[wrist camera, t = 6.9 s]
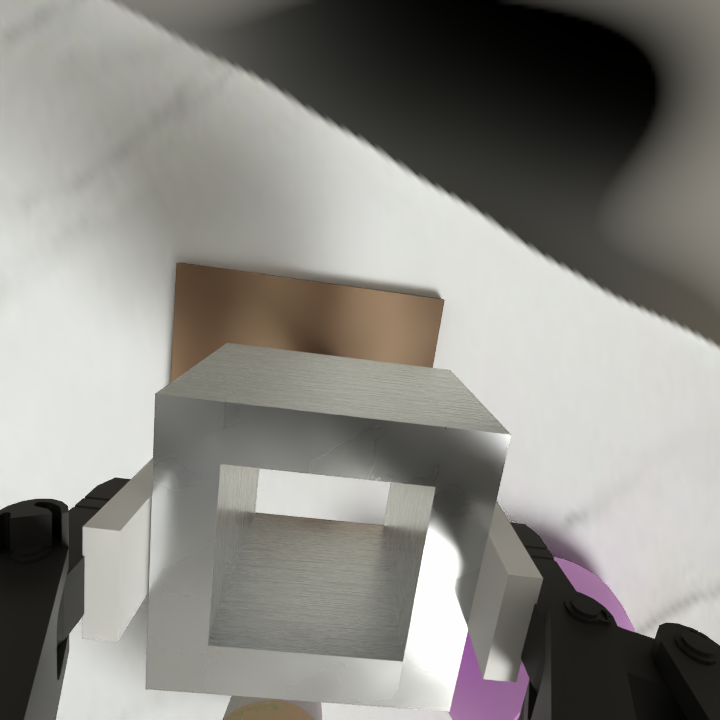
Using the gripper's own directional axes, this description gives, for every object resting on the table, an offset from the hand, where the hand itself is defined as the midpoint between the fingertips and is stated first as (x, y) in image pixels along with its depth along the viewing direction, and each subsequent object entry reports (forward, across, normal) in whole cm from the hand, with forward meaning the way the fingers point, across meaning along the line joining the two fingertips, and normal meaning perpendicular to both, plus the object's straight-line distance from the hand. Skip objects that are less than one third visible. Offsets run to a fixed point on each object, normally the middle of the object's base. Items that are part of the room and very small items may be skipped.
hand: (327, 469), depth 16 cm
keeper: (+13, -2, 0) cm, 13 cm away
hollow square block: (+1, 0, 0) cm, 1 cm away
